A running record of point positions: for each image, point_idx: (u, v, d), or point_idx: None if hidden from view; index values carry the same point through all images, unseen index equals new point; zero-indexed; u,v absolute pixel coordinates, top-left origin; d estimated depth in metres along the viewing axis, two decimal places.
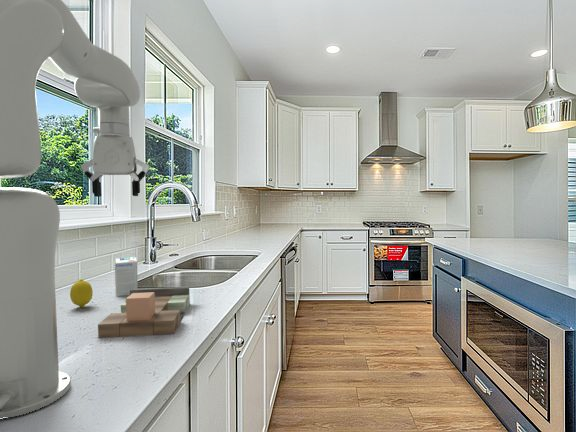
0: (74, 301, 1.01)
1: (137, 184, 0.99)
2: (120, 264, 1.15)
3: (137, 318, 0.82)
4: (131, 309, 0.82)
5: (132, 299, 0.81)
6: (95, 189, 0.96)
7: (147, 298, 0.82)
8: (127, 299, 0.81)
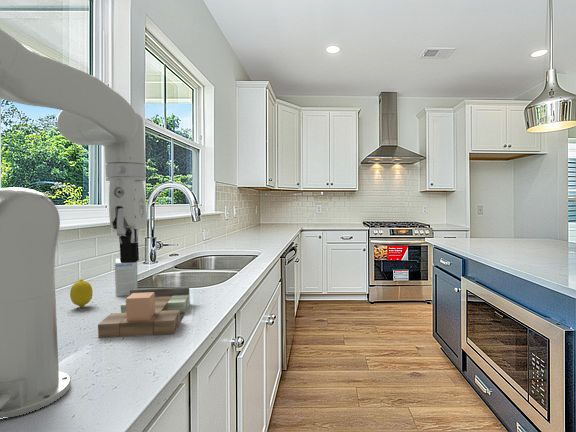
0: (74, 301, 1.01)
1: None
2: (120, 264, 1.15)
3: (137, 318, 0.82)
4: (131, 309, 0.82)
5: (132, 299, 0.81)
6: (136, 253, 0.76)
7: (147, 298, 0.82)
8: (127, 299, 0.81)
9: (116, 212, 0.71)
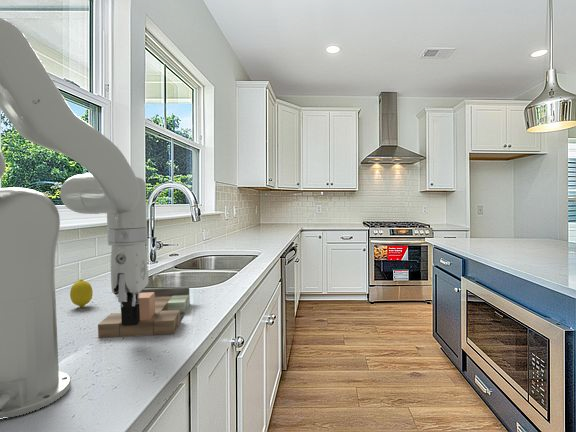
0: (74, 301, 1.01)
1: None
2: None
3: None
4: None
5: None
6: (137, 315, 0.76)
7: (147, 298, 0.82)
8: None
9: (118, 278, 0.71)
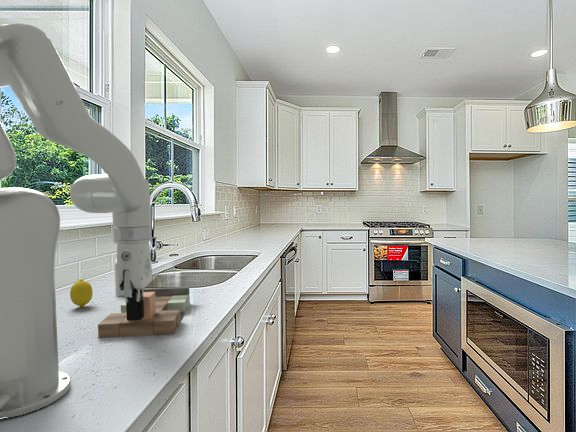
0: (74, 301, 1.01)
1: None
2: None
3: None
4: None
5: None
6: (142, 310, 0.79)
7: (147, 298, 0.82)
8: None
9: (123, 275, 0.75)
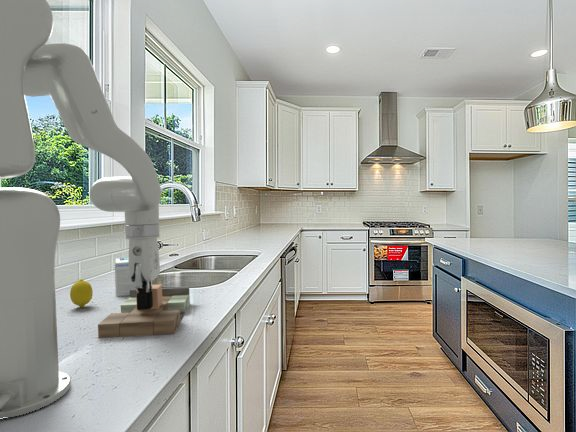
0: (74, 301, 1.01)
1: None
2: (120, 264, 1.15)
3: None
4: None
5: None
6: (151, 301, 0.87)
7: (155, 289, 0.90)
8: None
9: (134, 268, 0.83)
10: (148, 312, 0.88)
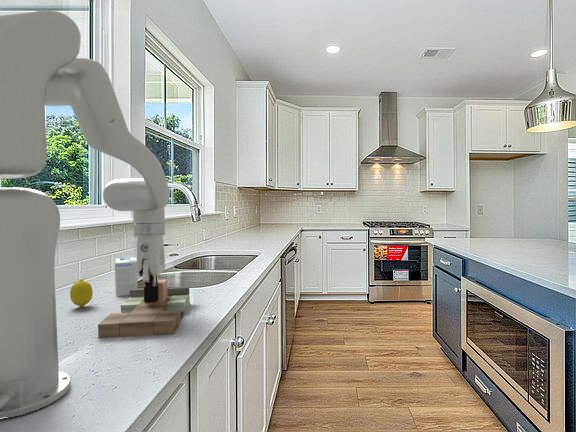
0: (74, 301, 1.01)
1: None
2: (120, 264, 1.15)
3: None
4: None
5: None
6: (157, 294, 0.94)
7: (161, 283, 0.96)
8: None
9: (142, 263, 0.89)
10: (148, 312, 0.88)
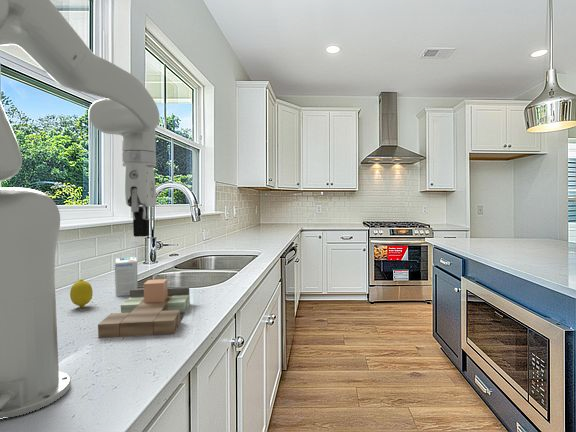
0: (74, 301, 1.01)
1: None
2: (120, 264, 1.15)
3: (153, 300, 0.97)
4: (148, 293, 0.96)
5: (149, 284, 0.96)
6: (147, 228, 0.88)
7: (161, 283, 0.97)
8: (144, 284, 0.96)
9: (131, 191, 0.84)
10: (148, 312, 0.88)
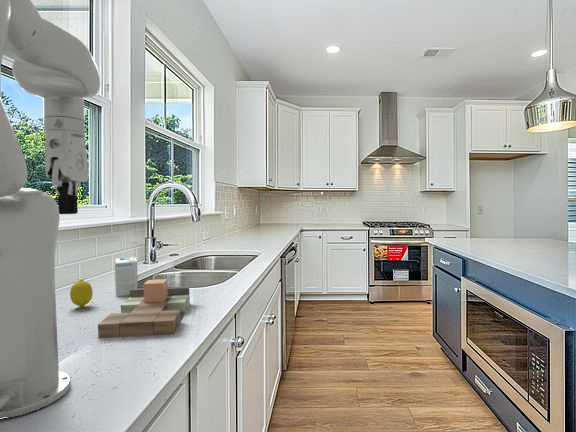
0: (74, 301, 1.01)
1: None
2: (120, 264, 1.15)
3: (153, 300, 0.97)
4: (148, 293, 0.96)
5: (149, 284, 0.96)
6: (74, 205, 0.79)
7: (161, 283, 0.97)
8: (144, 284, 0.96)
9: (51, 163, 0.75)
10: (148, 312, 0.88)
